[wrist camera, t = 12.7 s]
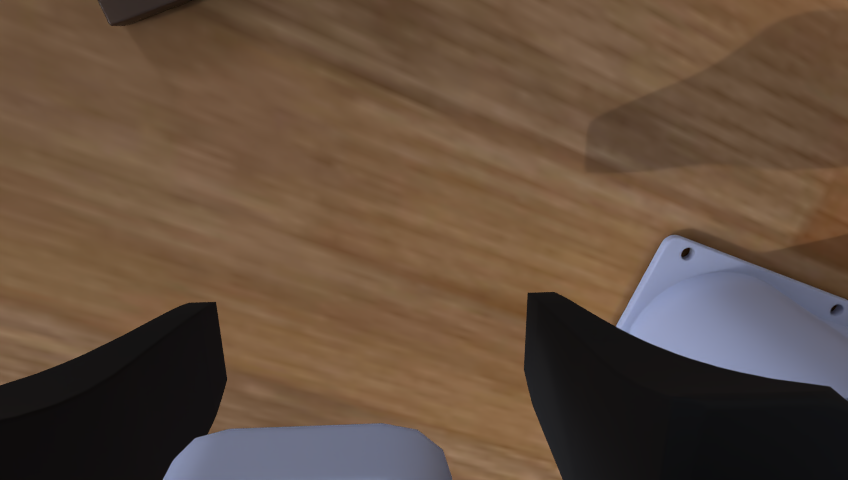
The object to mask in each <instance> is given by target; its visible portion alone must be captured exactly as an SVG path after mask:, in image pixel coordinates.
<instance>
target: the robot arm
mask: <svg viewBox="0 0 848 480" xmlns="http://www.w3.org/2000/svg"><path fill="white" fill-rule="evenodd" d="M686 248H690V251H689V253H688V255H686V256H684V257H681V253H682V251H683V250H684V249H686ZM835 305H837V306H836V308H835V309H834V310H833V311H831V308H832V307H833V306H835ZM830 311H831V312H830ZM524 372H525V376H526V380H527V385H528V389H529V393H530V397H531V401H532V404H533V407H534V410H535V412H536V415H537V417H538V420H539V422H540V425H541V427H542V430H543V432H544V435H545V437H546V440H547V442H548V444H549V447H550V449H551V452H552V454H553V457H554V459H555V461H556V464H557V466H558V469H559V471H560V474H561V476H562V479H563V480H848V300H847V299H844V298H841V297H839V296H836V295H834V294H831V293H828V292H826V291H823V290H820V289H818V288H815V287H813V286H810V285H807V284H805V283H802V282H800V281H797V280H794V279H792V278H789V277H786V276H784V275H781V274H779V273H776V272H773V271H771V270H768V269H766V268H763V267H760V266H758V265H755V264H752V263H750V262H747V261H745V260H742V259H739V258H737V257H734V256H732V255H729V254H726V253H724V252H721V251H719V250H716V249H713V248H711V247H708V246H705V245H703V244H700V243H698V242H695V241H692V240H690V239H687V238H685V237H682V236H679V235H670V236H668V237H666V238H665V239H664V240H663V241H662V243H661V245H660V246H659V248H658V250H657V252H656V254H655V256H654V257H653V259H652V261H651V263H650V265H649V267H648V268H647V270H646V272H645V274H644V276H643V278H642V279H641V281H640V283H639V285H638V287H637V289H636V290H635V292H634V294H633V296H632V298H631V300H630V301H629V303H628V305H627V307H626V309H625V311H624V312H623V314H622V316H621V318H620V320H619V322H618V323H617V325H616V327H615V326H614V325H612V324H610V323H608V322H606V321H605V320H603V319H601V318H599V317H598V316H596V315H594V314H592V313H591V312H589V311H587V310H586V309H584V308H582V307H581V306H579V305H577V304H576V303H574V302H572V301H570V300H569V299H567V298H565V297H563V296H562V295H559V294H557V293H555V292H541V293H528V299H527V319H526V340H525V360H524ZM226 382H227V375H226V368H225V361H224V354H223V348H222V341H221V334H220V327H219V320H218V313H217V306H216V302H201V303H187V304H184V305H182V306H179V307H177V308H175V309H173V310H171V311H169V312H167V313H165V314H163V315H161V316H159V317H157V318H155V319H153V320H151V321H149V322H148V323H146V324H144V325H142V326H140V327H138V328H136V329H134V330H132V331H131V332H129V333H127V334H125V335H123V336H121V337H119V338H117V339H115V340H113V341H111V342H109V343H107V344H105V345H103V346H100V347H98V348H96V349H94V350H92V351H90V352H88V353H86V354H84V355H82V356H79V357H77V358H75V359H73V360H70V361H68V362H65V363H63V364H60V365H58V366H55V367H53V368H50V369H48V370H45V371H42V372H40V373H37V374H34V375H31V376H28V377H25V378H22V379H19V380H16V381H13V382H9V383H6V384H3V385H0V480H452V476H451V473H450V470H449V467H448V464H447V461H446V458H445V455H444V452H443V450H442V449H441V448H440V447H439V446H437V445H436V444H435V443H434V442H432V441H431V440H430V439H428V438H427V437H426V436H425V435H423V434H422V433H421V432H420V431H418V430H416V429H410V428H405V427H399V426H394V425H389V424H383V423H379V424H351V425H324V426H296V427H268V428H241V429H227V430H223V431H220V432H216V433H212V434H208V432H209V430H210V428H211V426H212V424H213V421H214V419H215V417H216V415H217V412H218V408H219V405H220V402H221V399H222V396H223V392H224V389H225V385H226ZM207 434H208V435H207Z"/></svg>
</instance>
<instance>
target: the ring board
mask: <svg viewBox="0 0 848 480" xmlns="http://www.w3.org/2000/svg"><path fill="white" fill-rule="evenodd" d="M189 1H192V0H98V2H99V4H100V6H101V8H102V10H103V12H104V14H105V16H106V18H107V21H108V23H109V24H110V25H111V26H125V25H128V24H131V23H133V22H136V21H139V20H141V19H144V18H147V17H149V16H152V15H155V14H157V13H160V12H163V11H165V10H168V9H171V8H173V7H176V6H179V5H181V4H184V3H187V2H189Z"/></svg>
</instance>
